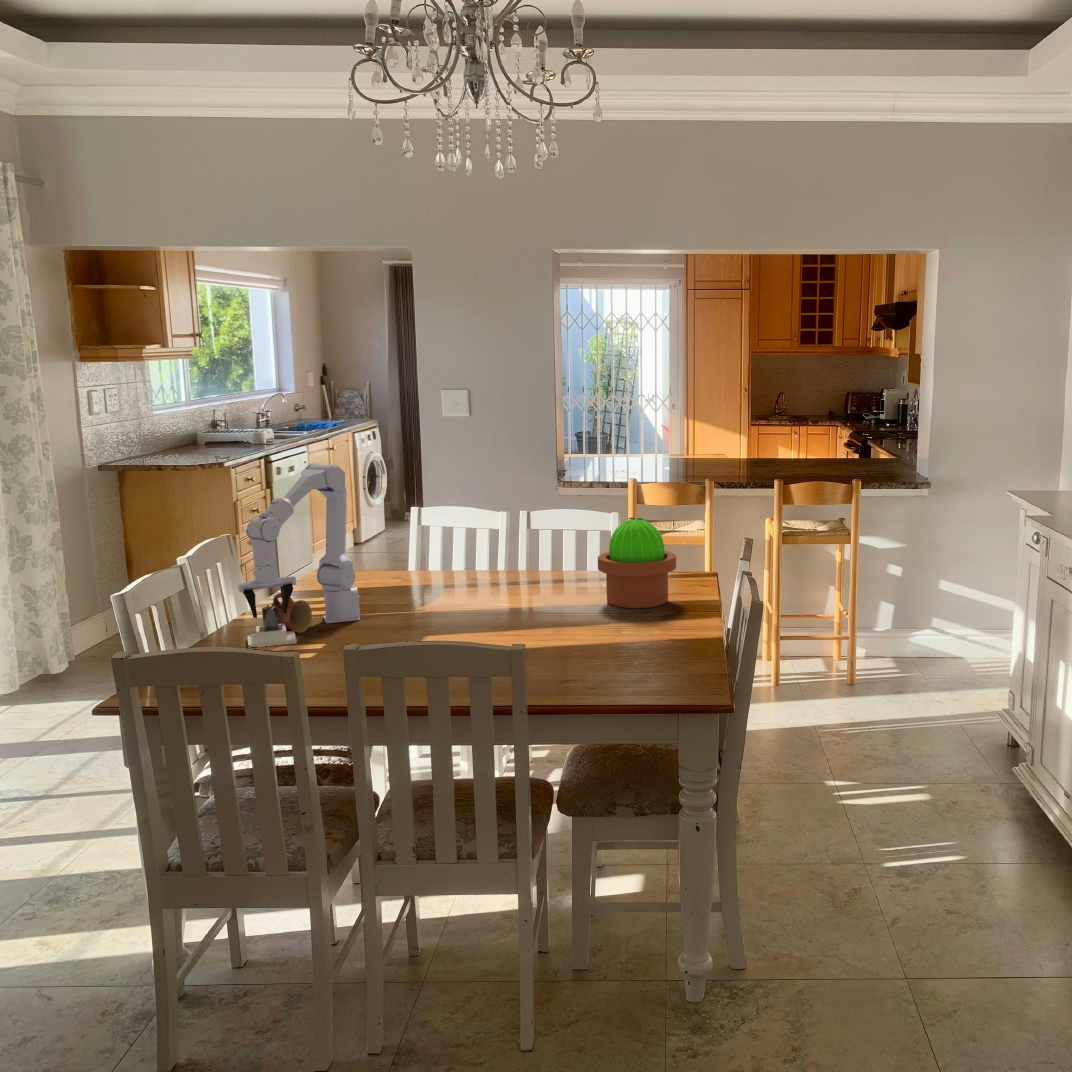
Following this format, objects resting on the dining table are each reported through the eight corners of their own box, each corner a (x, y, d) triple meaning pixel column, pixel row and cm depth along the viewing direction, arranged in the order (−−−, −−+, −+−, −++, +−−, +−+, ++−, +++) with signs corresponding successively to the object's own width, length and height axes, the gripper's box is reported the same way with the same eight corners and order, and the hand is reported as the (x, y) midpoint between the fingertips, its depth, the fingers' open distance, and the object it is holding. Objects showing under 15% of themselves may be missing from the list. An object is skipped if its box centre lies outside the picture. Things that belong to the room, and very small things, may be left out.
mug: (288, 617, 279) (316, 618, 274) (269, 637, 273) (298, 639, 268) (270, 583, 273) (298, 584, 268) (251, 603, 267) (279, 604, 262)
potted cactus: (650, 615, 275) (649, 525, 271) (584, 605, 288) (582, 519, 284) (689, 598, 292) (688, 513, 288) (625, 589, 305) (624, 508, 301)
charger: (294, 634, 267) (293, 621, 267) (296, 643, 259) (295, 630, 258) (247, 639, 264) (246, 626, 263) (248, 648, 255) (247, 635, 255)
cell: (281, 635, 263) (278, 603, 261) (276, 639, 259) (273, 606, 258) (267, 635, 263) (264, 603, 262) (262, 639, 259) (259, 606, 258)
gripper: (290, 558, 264) (294, 607, 267) (234, 564, 258) (238, 615, 261) (296, 562, 258) (300, 613, 261) (238, 569, 252) (243, 621, 254)
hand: (270, 615), depth 260 cm, fingers open, 7 cm apart
